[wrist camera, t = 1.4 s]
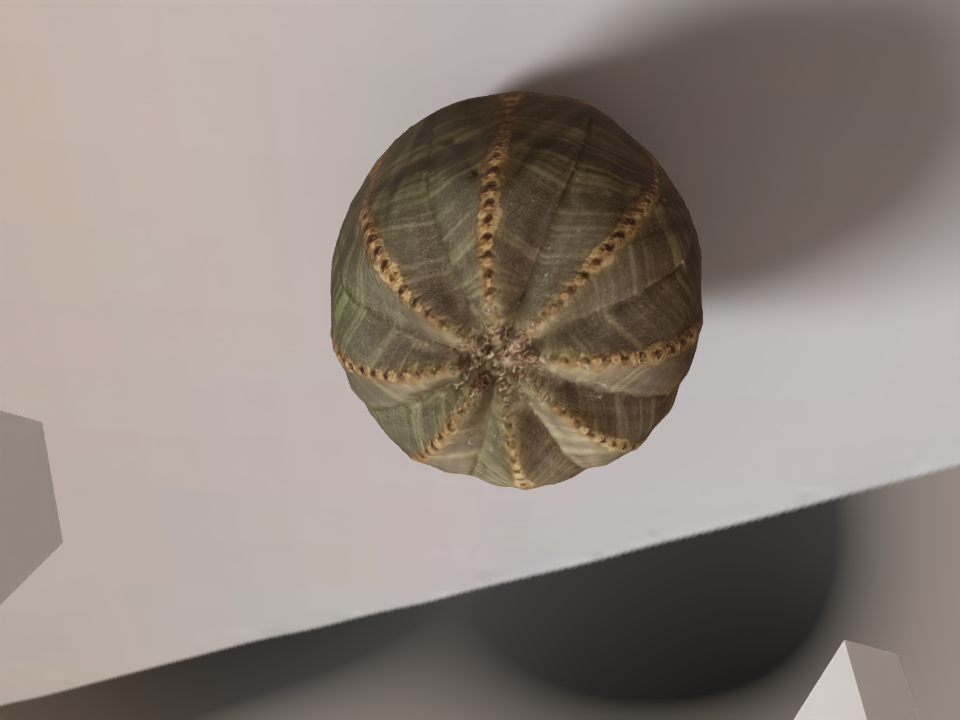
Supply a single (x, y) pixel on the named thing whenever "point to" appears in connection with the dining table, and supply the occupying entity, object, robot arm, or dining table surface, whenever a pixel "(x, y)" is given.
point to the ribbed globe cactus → (517, 290)
